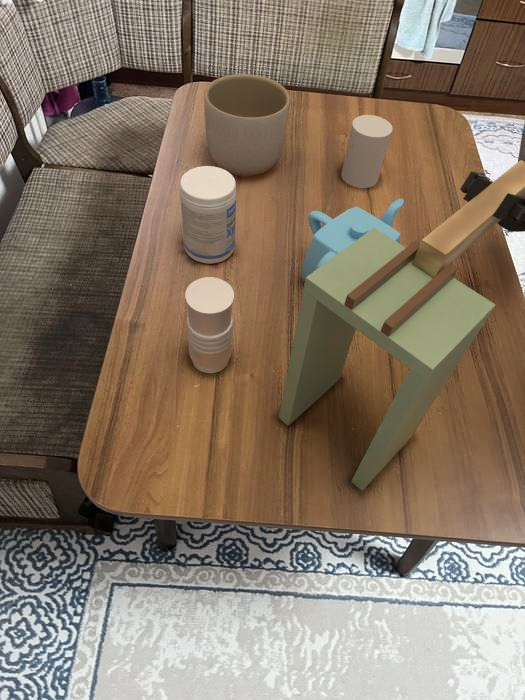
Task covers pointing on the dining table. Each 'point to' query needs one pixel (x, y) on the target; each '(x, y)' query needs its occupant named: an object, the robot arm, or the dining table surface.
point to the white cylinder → (366, 150)
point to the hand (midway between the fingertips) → (488, 197)
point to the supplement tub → (208, 213)
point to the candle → (209, 323)
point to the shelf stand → (381, 334)
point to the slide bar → (468, 222)
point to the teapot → (344, 233)
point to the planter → (245, 122)
